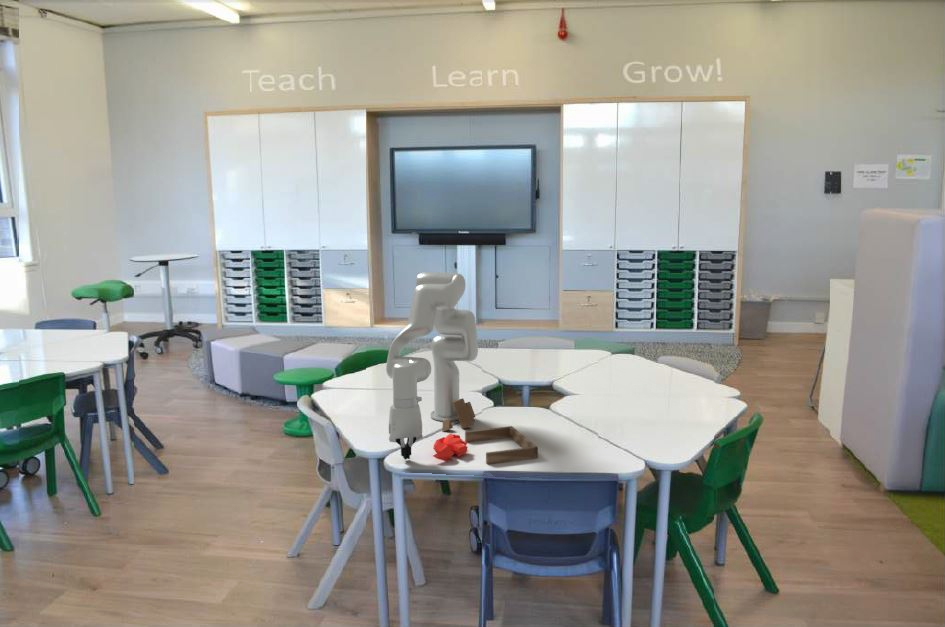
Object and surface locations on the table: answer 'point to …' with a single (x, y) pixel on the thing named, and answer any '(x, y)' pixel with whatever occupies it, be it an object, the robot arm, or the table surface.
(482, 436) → the frame
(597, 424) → the table surface
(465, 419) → the wooden block set
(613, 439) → the table surface
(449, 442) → the animal figurine
